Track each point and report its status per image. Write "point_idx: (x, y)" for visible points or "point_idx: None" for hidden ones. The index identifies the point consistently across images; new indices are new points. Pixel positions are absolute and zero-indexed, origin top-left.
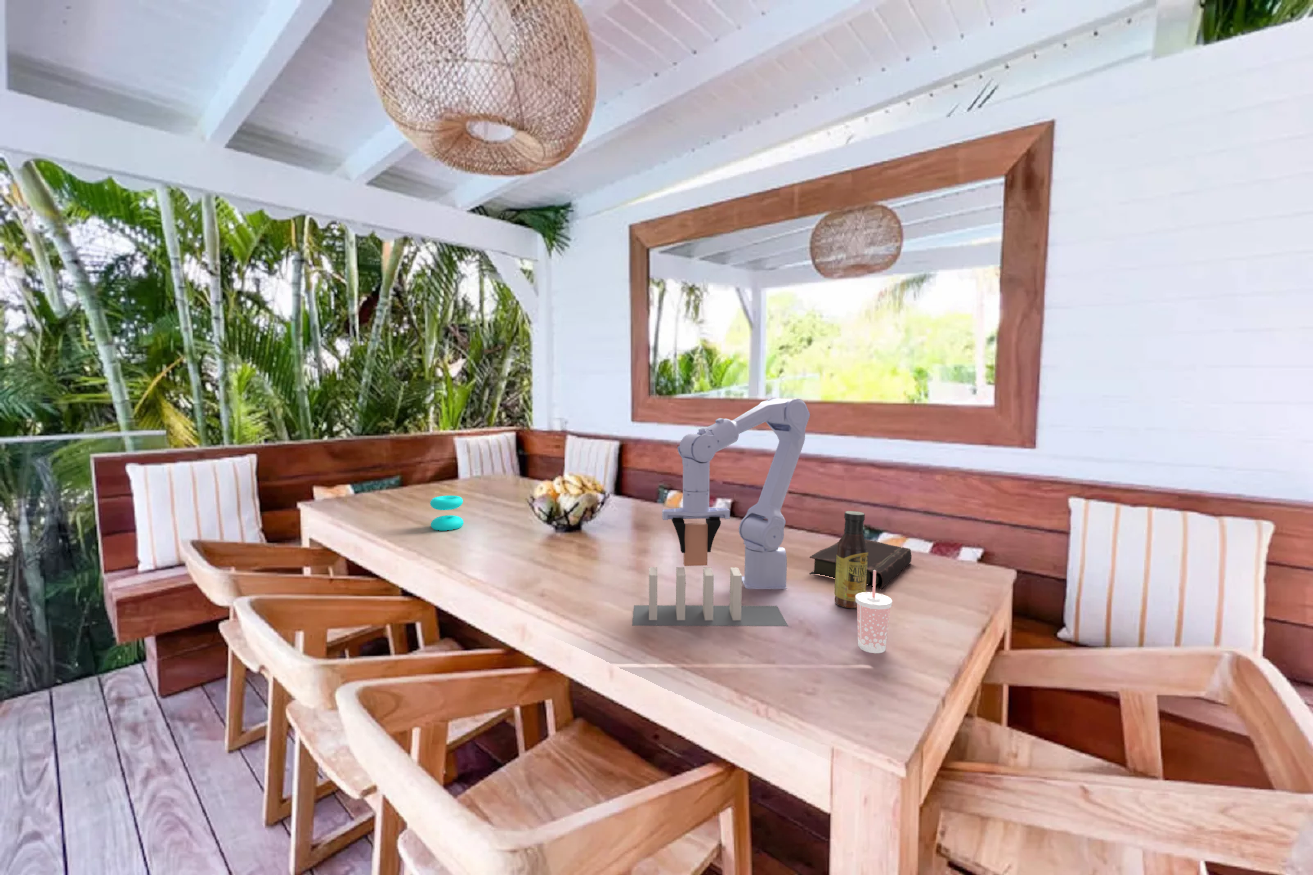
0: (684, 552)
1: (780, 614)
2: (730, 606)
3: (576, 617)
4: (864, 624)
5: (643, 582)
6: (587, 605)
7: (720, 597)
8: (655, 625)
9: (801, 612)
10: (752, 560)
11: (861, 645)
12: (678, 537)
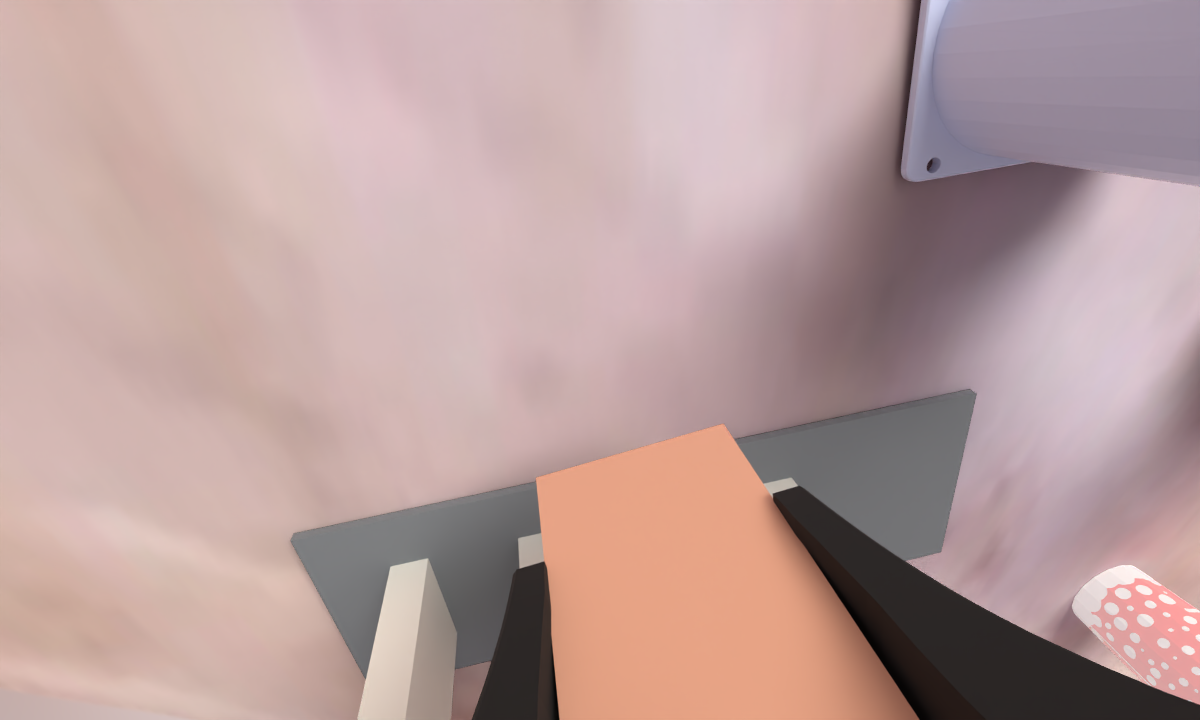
0: None
1: (953, 473)
2: None
3: (73, 678)
4: None
5: (147, 127)
6: (20, 570)
7: (732, 319)
8: (463, 666)
9: (1045, 412)
10: (1131, 159)
11: (1082, 617)
12: (484, 709)
